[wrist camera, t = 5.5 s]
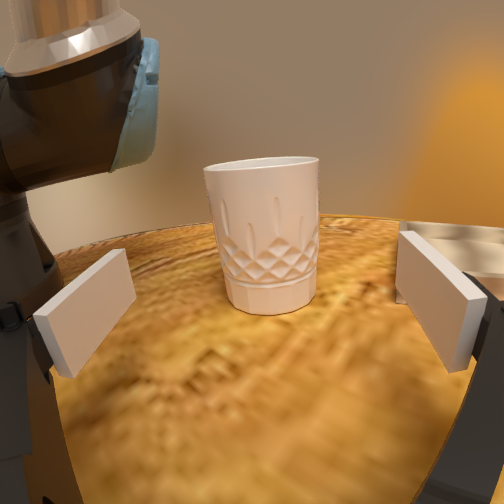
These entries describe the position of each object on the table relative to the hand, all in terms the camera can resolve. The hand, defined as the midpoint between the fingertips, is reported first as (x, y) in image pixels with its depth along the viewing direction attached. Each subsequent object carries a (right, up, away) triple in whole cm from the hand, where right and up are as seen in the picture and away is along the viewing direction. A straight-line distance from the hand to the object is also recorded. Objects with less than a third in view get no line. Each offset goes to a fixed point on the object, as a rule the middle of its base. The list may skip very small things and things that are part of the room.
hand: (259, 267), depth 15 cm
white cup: (+1, -3, +10) cm, 11 cm away
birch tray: (+19, -1, +9) cm, 21 cm away
